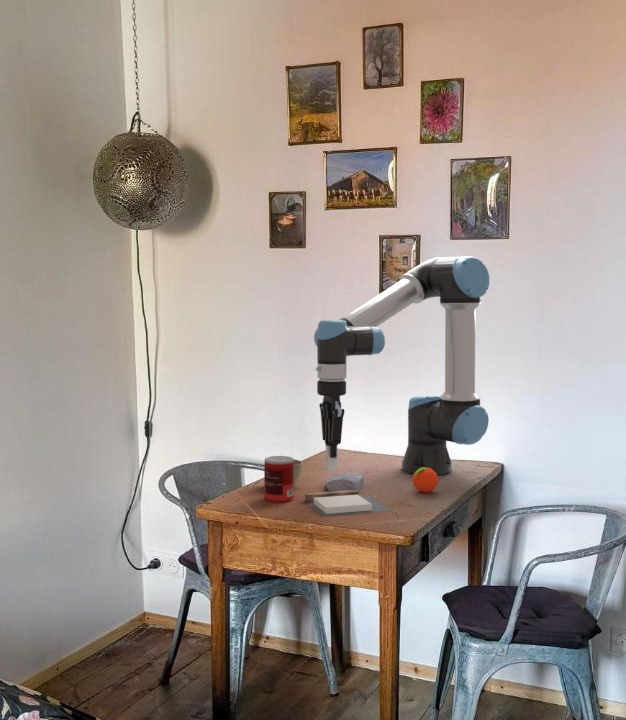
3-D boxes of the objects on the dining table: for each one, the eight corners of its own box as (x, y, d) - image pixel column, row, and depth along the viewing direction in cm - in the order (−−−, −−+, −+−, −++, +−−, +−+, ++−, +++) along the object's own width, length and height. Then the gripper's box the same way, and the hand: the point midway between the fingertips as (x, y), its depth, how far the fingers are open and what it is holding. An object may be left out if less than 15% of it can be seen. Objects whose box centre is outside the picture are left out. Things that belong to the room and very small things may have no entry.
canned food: (291, 495, 222) (291, 455, 221) (295, 503, 214) (295, 461, 213) (262, 496, 220) (262, 456, 219) (266, 504, 212) (266, 462, 212)
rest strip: (355, 497, 219) (355, 489, 219) (358, 499, 217) (358, 491, 217) (305, 500, 215) (305, 493, 215) (307, 502, 213) (307, 495, 213)
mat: (368, 496, 221) (368, 495, 221) (392, 511, 206) (392, 510, 206) (304, 501, 216) (304, 500, 216) (323, 517, 201) (323, 516, 201)
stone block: (325, 499, 226) (361, 493, 224) (322, 481, 226) (358, 476, 224) (332, 490, 238) (366, 485, 236) (329, 474, 238) (363, 468, 236)
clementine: (423, 497, 221) (424, 471, 220) (404, 492, 226) (404, 466, 225) (443, 492, 226) (443, 467, 226) (423, 488, 231) (424, 463, 231)
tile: (357, 494, 215) (371, 504, 205) (357, 501, 215) (371, 511, 206) (313, 497, 211) (325, 507, 202) (313, 504, 212) (325, 514, 202)
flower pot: (268, 483, 236) (268, 458, 235) (303, 483, 236) (303, 458, 235) (264, 491, 226) (264, 465, 226) (301, 492, 226) (301, 466, 225)
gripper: (310, 377, 220) (310, 465, 222) (326, 382, 208) (326, 475, 210) (336, 376, 222) (336, 463, 224) (354, 381, 210) (353, 473, 212)
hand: (331, 469), depth 217 cm, fingers closed
